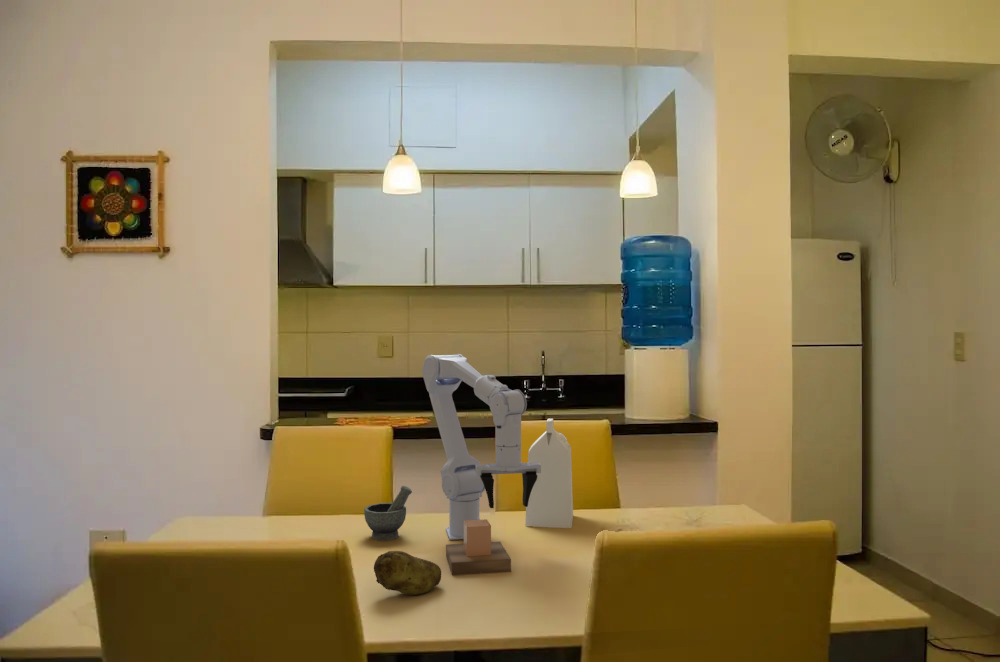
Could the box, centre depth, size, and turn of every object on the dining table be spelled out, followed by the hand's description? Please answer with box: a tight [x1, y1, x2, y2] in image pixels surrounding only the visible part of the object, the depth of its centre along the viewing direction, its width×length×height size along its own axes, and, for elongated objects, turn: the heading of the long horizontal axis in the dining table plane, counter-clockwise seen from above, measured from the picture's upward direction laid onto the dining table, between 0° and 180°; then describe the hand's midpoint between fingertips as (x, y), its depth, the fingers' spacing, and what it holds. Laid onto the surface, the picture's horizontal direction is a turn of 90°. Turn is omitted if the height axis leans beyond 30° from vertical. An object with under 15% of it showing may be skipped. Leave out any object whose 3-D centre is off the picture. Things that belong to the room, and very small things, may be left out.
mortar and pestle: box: [363, 485, 413, 542], centre depth 166 cm, size 11×9×12 cm
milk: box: [524, 418, 574, 529], centre depth 180 cm, size 12×12×26 cm
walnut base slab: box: [445, 541, 512, 576], centre depth 146 cm, size 12×12×2 cm
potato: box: [373, 550, 442, 596], centre depth 130 cm, size 8×13×8 cm, turn 103°
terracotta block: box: [463, 518, 492, 556], centre depth 146 cm, size 5×5×6 cm
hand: (508, 506), depth 155 cm, fingers open, 7 cm apart
